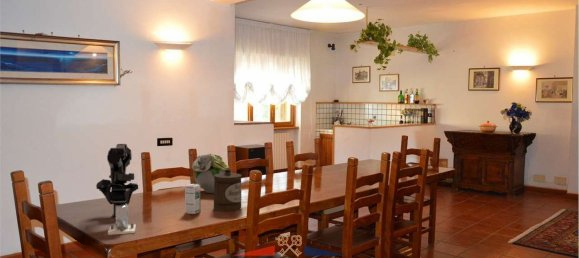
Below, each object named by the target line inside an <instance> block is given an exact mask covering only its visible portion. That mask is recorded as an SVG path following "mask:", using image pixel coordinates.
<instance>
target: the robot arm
mask: <svg viewBox="0 0 579 258" xmlns="http://www.w3.org/2000/svg"><path fill="white" fill-rule="evenodd" d="M132 157H133V155H132V150H131V149H130V148H129V147H128V144H126V143H118V144H116V147H110V148H109V150H108V152H107V157H106V158H107V159H106V160H107V163H108V166H109V169H110V171H109V172H110V175H109V176H108V177H109V178H108V179H103V178H102V179H101V180H99V181H98V182H97V183H96V185H95V186H96V189H97V190H99V192H101V194H103V196H104V197H105V198H106V201H107V202H108V204H109V205H113V206H112V209H113V211H112V212H113V213H112V218H116V206H117V205H128V206H129V204H130V202H131V197H132V195H133V193H134V192H136V191H137V190H139V184H138V183H133V182H132V181H134V180H135V173H132V172H129V173H127V167H128V166H129V165H130V164H131V161H132V159H133V158H132ZM128 182H129V183H128ZM127 183H128V184H127Z"/></svg>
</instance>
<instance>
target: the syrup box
mask: <svg viewBox="0 0 579 258" xmlns="http://www.w3.org/2000/svg"><path fill="white" fill-rule="evenodd" d="M184 199H185V200H184V205H185V210H184V211H185V214H190V215H191V214H192V215H196V214H198V213H201V209H202V208H201V207H202V205H201V188H200V185H199V184H196V183H190V184H187V185H185V186H184Z"/></svg>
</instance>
